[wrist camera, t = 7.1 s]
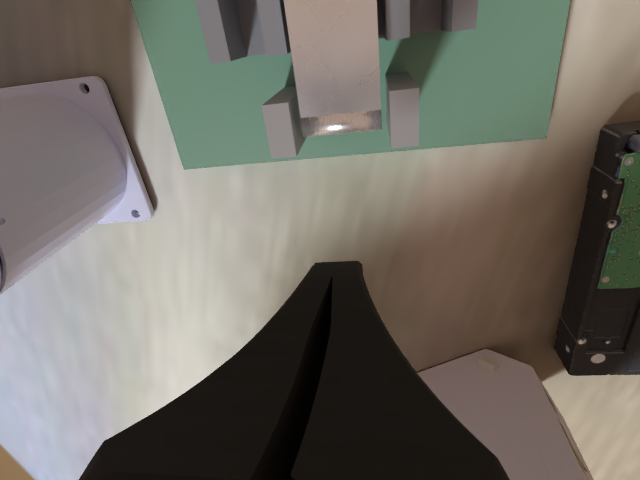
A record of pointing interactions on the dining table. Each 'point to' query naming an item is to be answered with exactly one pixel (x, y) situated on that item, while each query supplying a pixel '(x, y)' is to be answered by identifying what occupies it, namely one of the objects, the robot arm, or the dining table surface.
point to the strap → (335, 65)
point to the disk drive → (606, 264)
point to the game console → (509, 415)
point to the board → (395, 77)
